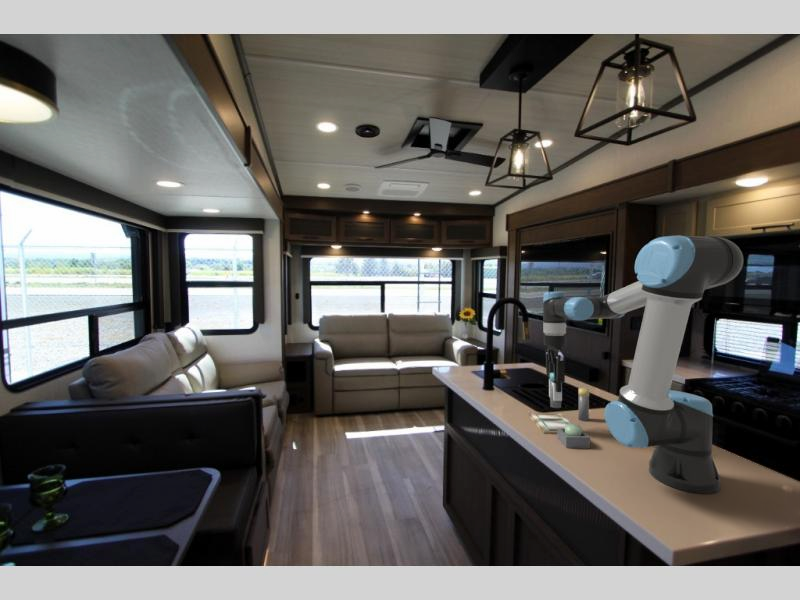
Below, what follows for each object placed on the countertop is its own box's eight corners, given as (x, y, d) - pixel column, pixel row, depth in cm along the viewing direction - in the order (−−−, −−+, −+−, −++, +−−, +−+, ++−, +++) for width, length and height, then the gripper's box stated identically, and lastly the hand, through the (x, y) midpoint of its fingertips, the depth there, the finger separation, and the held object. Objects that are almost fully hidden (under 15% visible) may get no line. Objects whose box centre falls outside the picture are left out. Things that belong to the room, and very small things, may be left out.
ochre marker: (590, 421, 138) (590, 390, 138) (580, 421, 138) (581, 390, 138) (586, 417, 142) (586, 387, 141) (576, 417, 142) (576, 387, 142)
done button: (584, 441, 117) (584, 429, 116) (568, 441, 117) (568, 429, 117) (577, 434, 122) (577, 423, 121) (562, 434, 122) (562, 423, 122)
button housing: (589, 448, 115) (590, 437, 115) (566, 447, 116) (566, 437, 116) (579, 438, 123) (579, 428, 123) (557, 438, 123) (557, 428, 123)
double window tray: (581, 433, 126) (581, 430, 126) (543, 433, 127) (543, 429, 127) (561, 415, 144) (561, 412, 144) (528, 415, 145) (528, 412, 145)
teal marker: (562, 408, 128) (562, 374, 127) (552, 408, 128) (551, 374, 128) (558, 405, 131) (558, 372, 131) (548, 404, 132) (548, 372, 131)
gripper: (575, 336, 121) (576, 405, 121) (556, 331, 137) (557, 392, 138) (552, 337, 121) (553, 405, 121) (536, 332, 138) (537, 392, 138)
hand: (555, 398), depth 130 cm, fingers closed on teal marker, 3 cm apart
